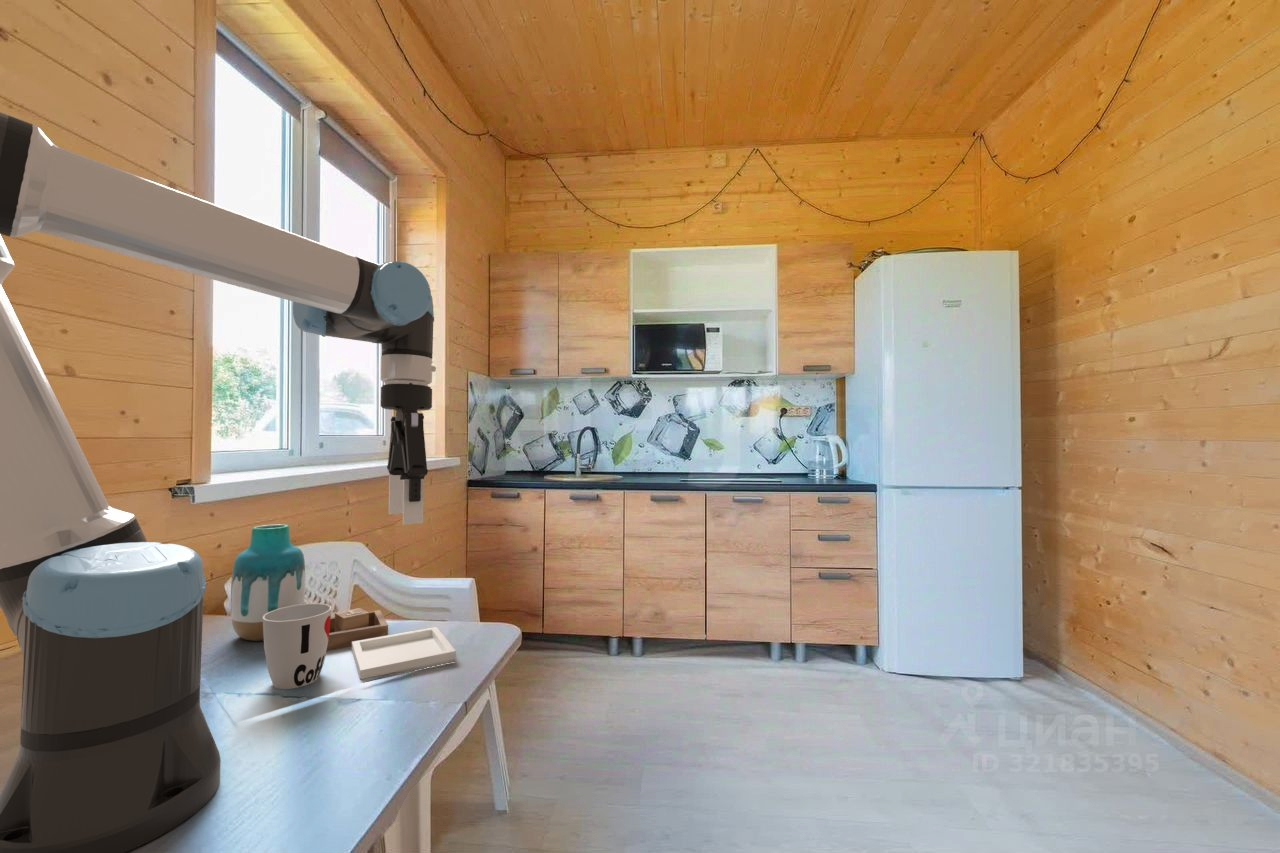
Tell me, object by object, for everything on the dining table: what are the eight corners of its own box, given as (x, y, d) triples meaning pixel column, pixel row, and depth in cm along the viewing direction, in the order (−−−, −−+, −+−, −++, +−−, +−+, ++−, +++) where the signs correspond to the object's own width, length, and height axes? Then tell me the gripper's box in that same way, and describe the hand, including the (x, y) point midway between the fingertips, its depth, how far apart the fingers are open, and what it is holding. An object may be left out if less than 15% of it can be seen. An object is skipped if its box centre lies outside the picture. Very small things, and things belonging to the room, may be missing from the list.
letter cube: (368, 636, 92) (368, 612, 92) (343, 642, 89) (343, 617, 89) (359, 630, 94) (359, 607, 94) (334, 636, 91) (334, 612, 91)
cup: (296, 700, 70) (298, 623, 70) (245, 694, 71) (247, 619, 72) (343, 674, 78) (344, 605, 78) (295, 669, 79) (297, 601, 80)
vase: (238, 632, 95) (241, 524, 96) (308, 624, 99) (310, 520, 100) (221, 653, 85) (224, 533, 86) (299, 643, 90) (301, 528, 90)
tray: (455, 662, 82) (455, 650, 82) (360, 683, 75) (360, 670, 75) (436, 637, 93) (436, 626, 93) (351, 653, 86) (351, 641, 86)
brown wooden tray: (387, 643, 90) (388, 625, 90) (318, 655, 84) (318, 636, 85) (379, 626, 98) (379, 609, 98) (316, 636, 93) (316, 619, 93)
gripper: (450, 378, 77) (448, 526, 76) (416, 392, 98) (414, 509, 97) (393, 374, 73) (391, 531, 72) (371, 390, 94) (368, 511, 93)
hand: (404, 518), depth 84 cm, fingers open, 13 cm apart
